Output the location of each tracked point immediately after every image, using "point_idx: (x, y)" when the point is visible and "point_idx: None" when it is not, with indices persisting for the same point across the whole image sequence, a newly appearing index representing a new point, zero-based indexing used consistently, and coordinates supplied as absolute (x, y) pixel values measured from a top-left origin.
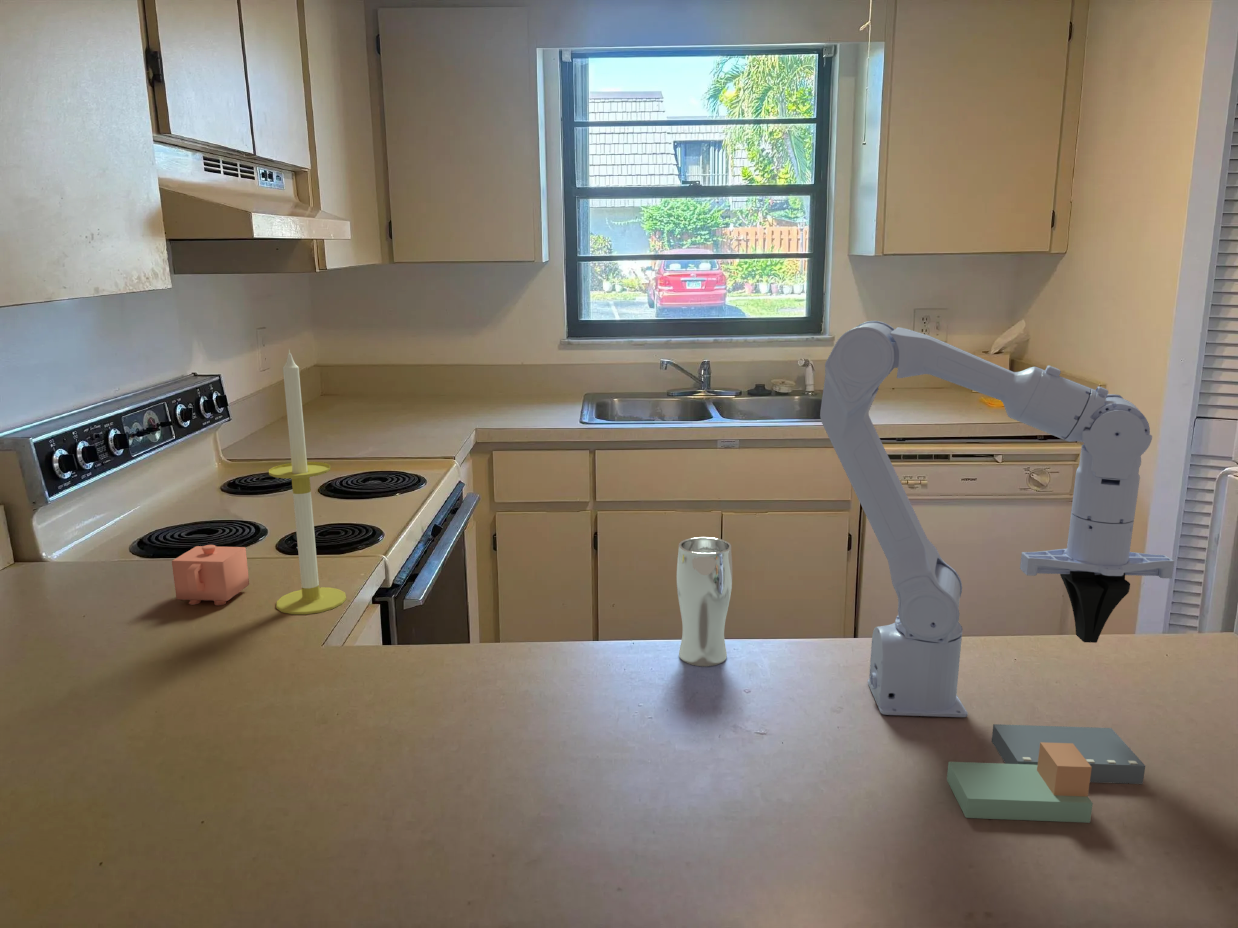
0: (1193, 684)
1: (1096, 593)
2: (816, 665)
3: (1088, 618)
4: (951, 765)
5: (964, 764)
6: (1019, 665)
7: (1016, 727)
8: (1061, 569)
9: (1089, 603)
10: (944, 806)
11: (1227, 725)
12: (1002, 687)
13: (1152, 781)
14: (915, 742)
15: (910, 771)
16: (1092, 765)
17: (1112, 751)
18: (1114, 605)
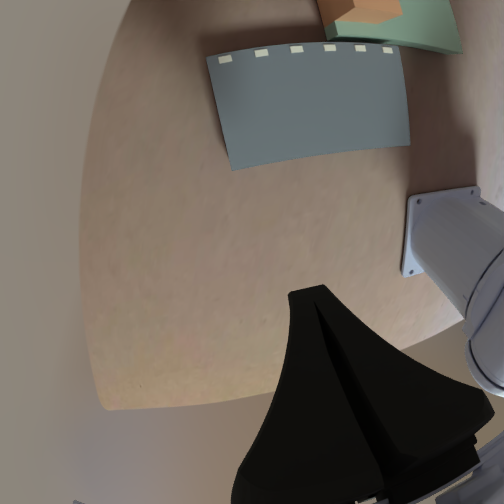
0: (114, 345)
1: (415, 419)
2: None
3: (359, 331)
4: (460, 45)
5: (450, 45)
6: None
7: (384, 138)
8: (495, 453)
9: (399, 373)
10: None
11: (80, 269)
12: (338, 289)
13: (191, 75)
14: (464, 131)
15: (471, 73)
16: (292, 44)
17: (250, 86)
18: (284, 400)
